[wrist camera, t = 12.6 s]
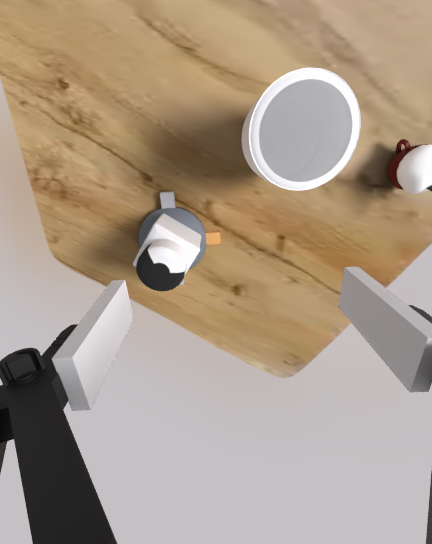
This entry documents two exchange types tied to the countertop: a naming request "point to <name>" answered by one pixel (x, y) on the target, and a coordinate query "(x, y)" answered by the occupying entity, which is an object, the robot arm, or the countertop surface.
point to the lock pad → (182, 217)
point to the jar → (302, 129)
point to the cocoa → (411, 168)
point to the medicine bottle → (167, 254)
